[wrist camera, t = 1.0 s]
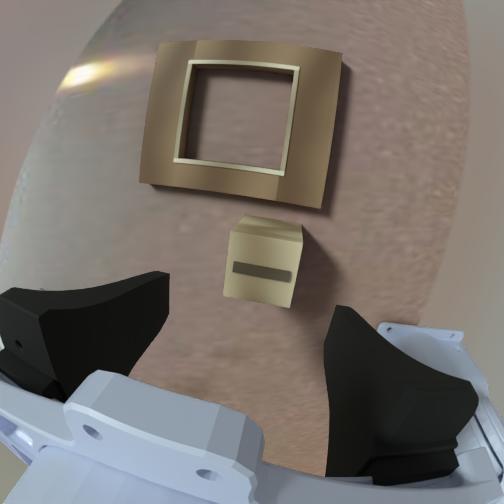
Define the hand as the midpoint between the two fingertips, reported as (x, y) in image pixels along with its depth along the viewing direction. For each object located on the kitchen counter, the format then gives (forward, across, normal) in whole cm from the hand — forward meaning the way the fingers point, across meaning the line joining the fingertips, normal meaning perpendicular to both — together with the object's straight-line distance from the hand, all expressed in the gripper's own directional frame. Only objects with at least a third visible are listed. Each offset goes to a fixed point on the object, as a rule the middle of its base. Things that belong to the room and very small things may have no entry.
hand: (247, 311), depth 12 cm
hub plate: (+10, +4, -9) cm, 14 cm away
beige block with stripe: (+10, 0, 0) cm, 10 cm away
